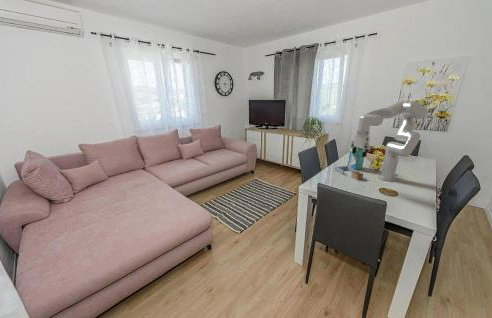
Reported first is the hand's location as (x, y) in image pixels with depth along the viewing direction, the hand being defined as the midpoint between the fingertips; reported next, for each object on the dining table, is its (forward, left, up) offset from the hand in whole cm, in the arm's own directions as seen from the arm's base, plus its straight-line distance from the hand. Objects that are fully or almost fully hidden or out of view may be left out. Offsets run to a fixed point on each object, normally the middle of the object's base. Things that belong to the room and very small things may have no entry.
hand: (358, 154), depth 150 cm
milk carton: (-26, -28, -24) cm, 45 cm away
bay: (-10, -22, -24) cm, 34 cm away
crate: (-10, -8, -24) cm, 27 cm away
